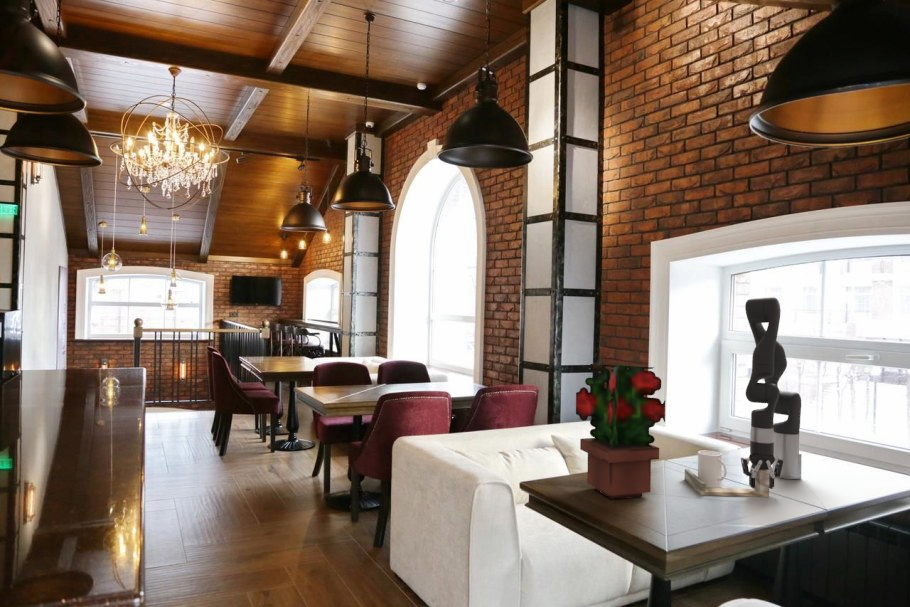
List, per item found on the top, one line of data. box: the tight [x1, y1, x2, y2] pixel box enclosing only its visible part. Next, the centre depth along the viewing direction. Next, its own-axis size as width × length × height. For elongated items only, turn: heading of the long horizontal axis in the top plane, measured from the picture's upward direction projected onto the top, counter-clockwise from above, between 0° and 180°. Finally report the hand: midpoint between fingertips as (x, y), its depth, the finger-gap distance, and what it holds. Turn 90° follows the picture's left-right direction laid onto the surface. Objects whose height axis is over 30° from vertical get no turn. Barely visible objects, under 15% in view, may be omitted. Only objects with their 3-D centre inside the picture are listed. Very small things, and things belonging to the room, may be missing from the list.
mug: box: [697, 449, 728, 488], centre depth 227 cm, size 12×8×12 cm
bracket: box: [684, 468, 770, 498], centre depth 225 cm, size 23×19×9 cm
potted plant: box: [575, 363, 666, 500], centre depth 218 cm, size 22×22×45 cm
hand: (761, 487), depth 217 cm, fingers open, 5 cm apart
